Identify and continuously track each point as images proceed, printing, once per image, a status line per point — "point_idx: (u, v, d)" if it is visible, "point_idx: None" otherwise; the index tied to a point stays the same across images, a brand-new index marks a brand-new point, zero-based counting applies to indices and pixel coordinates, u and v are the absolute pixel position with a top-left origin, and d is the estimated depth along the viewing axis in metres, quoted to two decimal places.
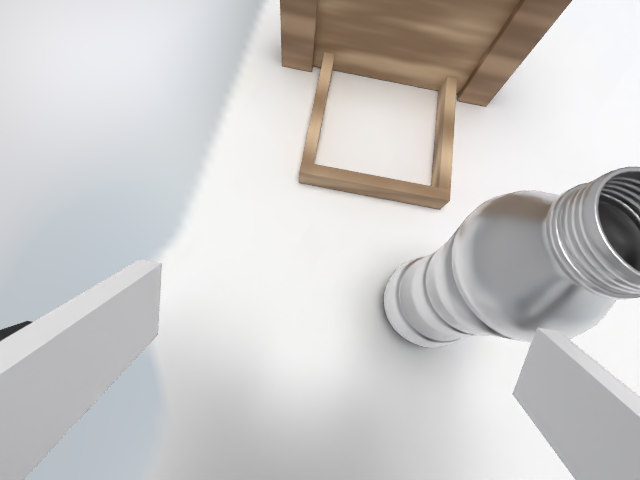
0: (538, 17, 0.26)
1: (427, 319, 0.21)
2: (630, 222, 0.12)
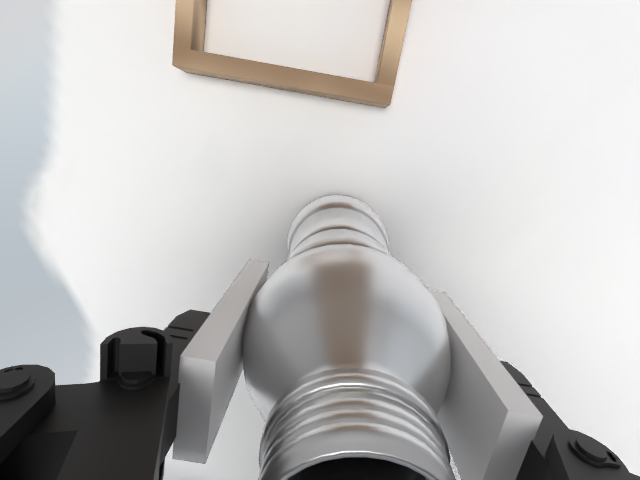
0: None
1: None
2: None
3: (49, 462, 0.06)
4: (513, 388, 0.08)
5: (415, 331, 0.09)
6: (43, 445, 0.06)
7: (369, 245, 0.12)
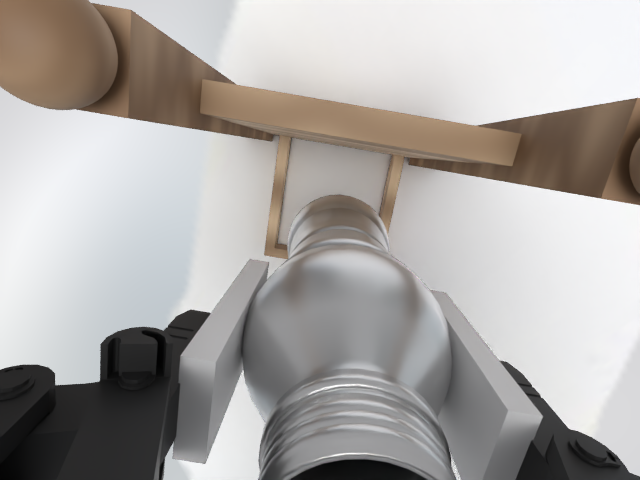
0: None
1: None
2: None
3: (49, 462, 0.06)
4: (513, 388, 0.08)
5: (416, 332, 0.09)
6: (43, 445, 0.06)
7: (369, 245, 0.12)
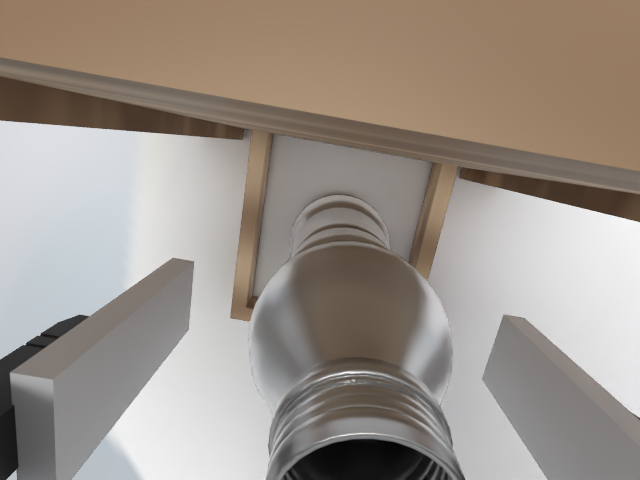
0: None
1: None
2: None
3: None
4: None
5: (418, 324, 0.09)
6: None
7: (372, 242, 0.12)
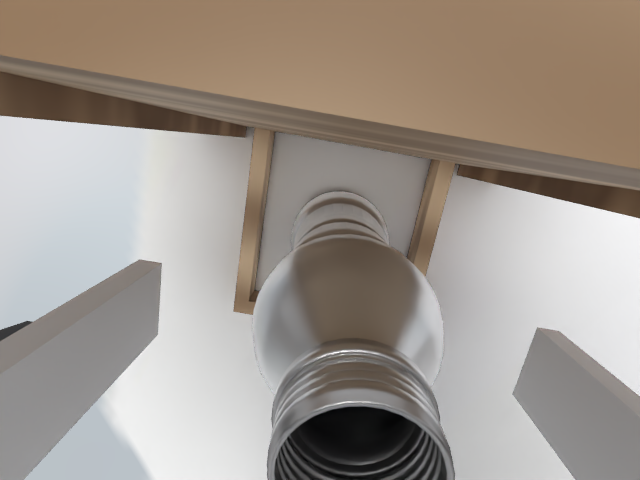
0: None
1: None
2: None
3: None
4: None
5: (410, 310, 0.09)
6: None
7: (369, 235, 0.13)
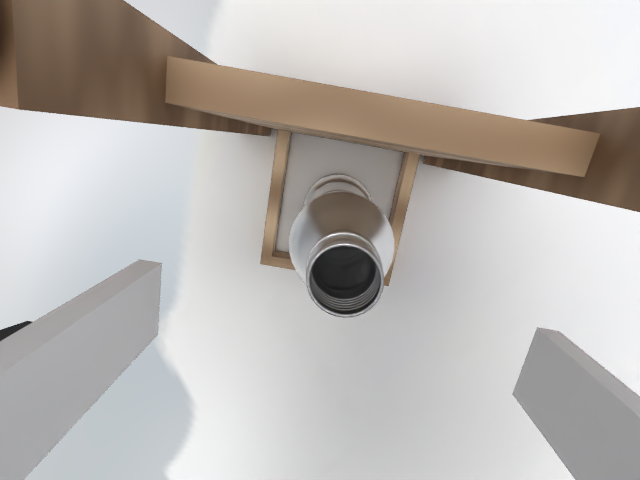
0: None
1: None
2: None
3: None
4: None
5: (372, 225, 0.19)
6: None
7: None
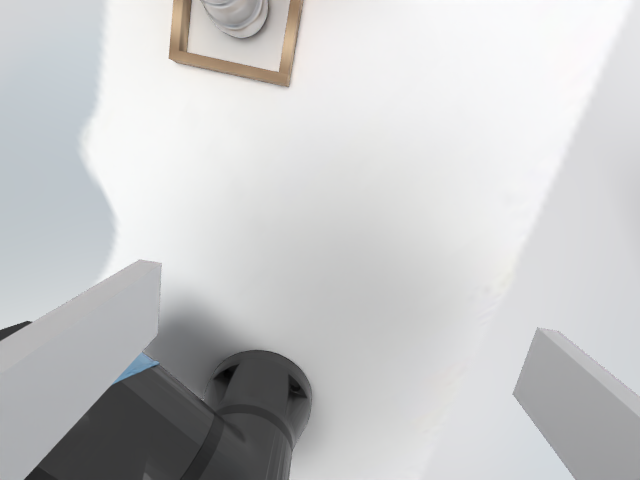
0: None
1: None
2: None
3: None
4: None
5: None
6: None
7: None
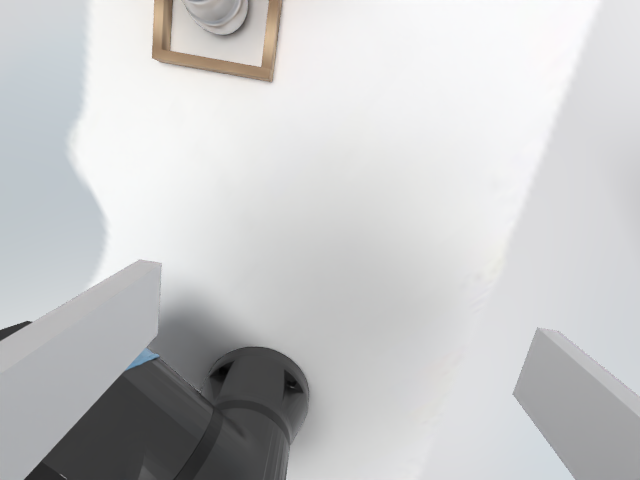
0: None
1: None
2: None
3: None
4: None
5: None
6: None
7: None
